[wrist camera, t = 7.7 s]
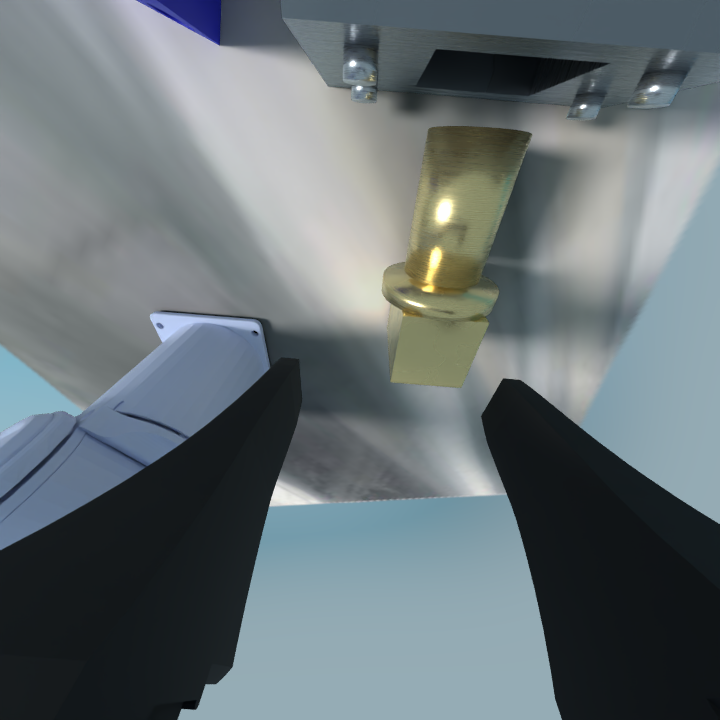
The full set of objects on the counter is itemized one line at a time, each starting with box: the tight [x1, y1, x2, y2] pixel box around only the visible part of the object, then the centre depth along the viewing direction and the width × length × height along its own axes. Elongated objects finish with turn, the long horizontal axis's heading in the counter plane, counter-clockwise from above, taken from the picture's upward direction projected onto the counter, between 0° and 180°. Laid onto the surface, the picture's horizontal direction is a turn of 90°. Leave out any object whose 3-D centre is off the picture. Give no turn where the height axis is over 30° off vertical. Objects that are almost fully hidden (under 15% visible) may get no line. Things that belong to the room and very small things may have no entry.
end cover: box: [382, 126, 532, 388], centre depth 13 cm, size 10×6×6 cm, turn 176°
